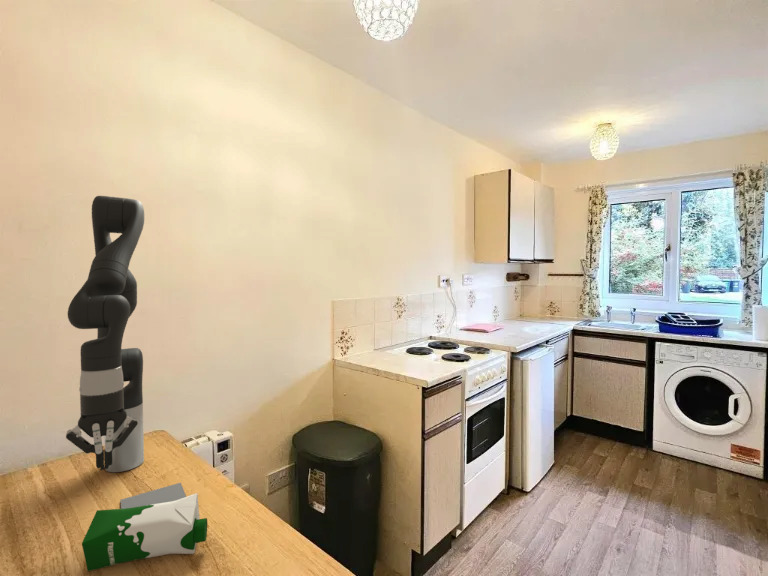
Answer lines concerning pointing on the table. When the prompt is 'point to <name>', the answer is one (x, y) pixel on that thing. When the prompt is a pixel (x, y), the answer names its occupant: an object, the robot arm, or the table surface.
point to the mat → (155, 497)
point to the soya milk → (143, 532)
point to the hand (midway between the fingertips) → (104, 468)
